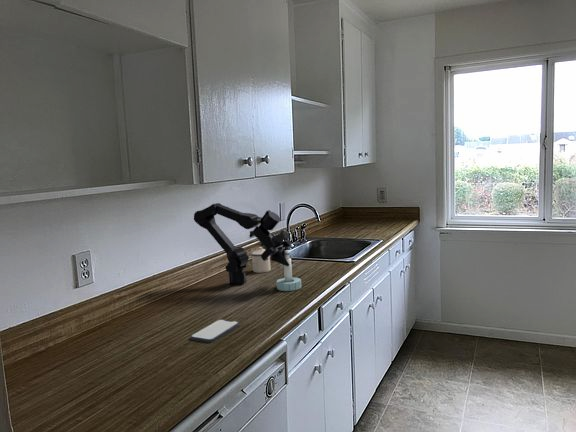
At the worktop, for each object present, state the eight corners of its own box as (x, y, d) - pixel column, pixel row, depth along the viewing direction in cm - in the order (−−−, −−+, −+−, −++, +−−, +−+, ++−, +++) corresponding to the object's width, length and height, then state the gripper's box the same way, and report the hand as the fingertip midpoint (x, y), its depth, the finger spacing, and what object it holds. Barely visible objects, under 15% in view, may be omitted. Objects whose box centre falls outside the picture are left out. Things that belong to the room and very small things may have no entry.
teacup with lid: (273, 268, 235) (272, 245, 234) (267, 273, 227) (266, 249, 225) (250, 268, 239) (249, 245, 237) (244, 272, 230) (242, 249, 228)
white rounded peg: (283, 280, 199) (281, 250, 198) (289, 278, 201) (287, 249, 200) (287, 281, 197) (286, 251, 195) (293, 279, 199) (292, 250, 197)
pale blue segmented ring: (274, 290, 196) (274, 283, 195) (280, 284, 205) (280, 277, 205) (298, 291, 193) (297, 283, 193) (303, 284, 203) (302, 277, 203)
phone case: (211, 345, 144) (241, 326, 158) (211, 340, 144) (240, 321, 157) (188, 341, 148) (219, 323, 162) (188, 336, 148) (219, 318, 162)
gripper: (265, 228, 190) (292, 256, 186) (286, 221, 206) (311, 247, 203) (250, 247, 194) (275, 275, 191) (271, 238, 211) (295, 264, 207)
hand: (290, 264), depth 198 cm, fingers closed on white rounded peg, 3 cm apart
